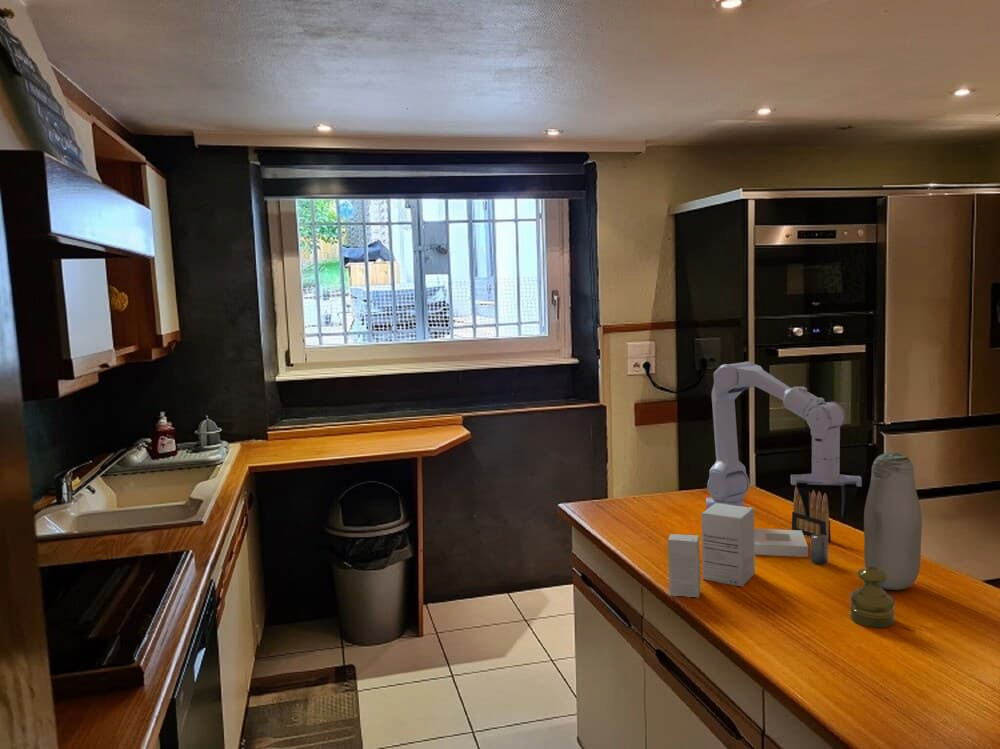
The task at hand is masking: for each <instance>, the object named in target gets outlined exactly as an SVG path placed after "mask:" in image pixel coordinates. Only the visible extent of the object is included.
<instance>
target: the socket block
mask: <svg viewBox="0 0 1000 749" xmlns="http://www.w3.org/2000/svg"><path fill="white" fill-rule="evenodd" d="M754 551H755V555H757V556H758V555H759V556H775V557H776V556H779V557H798V558H799V557H800V558H808V557H809V545H808V542H807V541H806V538H805V535H803V533H802V530H792V529H773V528H754Z"/></svg>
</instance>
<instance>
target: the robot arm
mask: <svg viewBox="0 0 1000 749" xmlns="http://www.w3.org/2000/svg"><path fill="white" fill-rule="evenodd" d="M751 387H756V388H758V389H759V390H762V391H764V392H765V393H768V394H769V395H771V396H773V397H775V398H778V399H779V400H781V401H782V405H783V407H784V408H785V409H787V410H788V411H790V412H792V413H793V414H795V415H796V416H798V417H800V418H802V419H803V420H804V421H806V424H807V426H809V429H810V436H811V473H805V474H804V473H803V474H790V484H791V486H795V488H796V487H797V489H798V491H799V496H801V499H802V502H803V505H804V510H805V516H806V517H809V515H810V512H809V492H810V491H811V490H810V488H809V485H811V486H812V485H816V486H817V485H818V486H840V489H841V508H840V509H841V510H840V514H841V517H842V518H843V519H846V518H847V515H848V511H849V508H850V505H851V503H852V501H853V499H854V497H855V496H856V494H857V491H858V488H857V487H862V486H863V484H862V483H863V482H862V480H863V478H862V477H861V475H849V474H848V475H847V474H840V470H841V468H840V462H841V461H840V454H841V450H840V449H841V448H840V446H841V444H840V443H841V442H840V441H841V427H842V425H844V422H845V420H846V413H845V410H844V408H843V407H842V406H841V405H840V404H838V402H836V401H828V402H826V401H825V398H823V397H817V395H815V394H812V393H811V392H809V391H808V388H807V387H806V386H793V387H791V386H788V385H787V384H785V383H784V382H782V381H781V380H779V379H777V378H776V376H773V375H772V374H770V373H769V372H767V371H766V370H764V369H763V367H762V366H761V365H758V364H757V363H756V364H755V362H752V361H748V360H747V361H744V362H735V363H730V364H729V363H728V364H727V363H725V364H721V365H719V367H718V368H717V369H715V371H714V372H713V387H712V390H711V404H712V406H711V407H712V420H713V432H714V433H713V434H714V447H715V463H714V464H713V465H712V466H711V467H710V469H709V471H708V473H709V474H708V475H709V477H708V480H707V486H706V488H707V491H708V493H709V495H710V497H705V500H706V501H705V502H706V504H705V505H706V508H705V509H706V510H707V509H708V508H710V507H711V506H712V505H714V504H715V503H721V504H728V505H734V506H742V507H744V498H745V497H746V493H748V491H749V490H750V486H751V485H750V484H751V483H750V478H749V477H748V474H747V469H746V466H745V465H744V464H743V463H742V462H741V461H740V460H739V459H740V458H739V448H738V447H739V446H738V433H737V432H738V431H737V417H736V404H735V400H736V399H737V397H738V396H740V394H742V393H743V391H745V390H747V389H749V388H751ZM810 493H811V492H810ZM706 510H705V511H706Z"/></svg>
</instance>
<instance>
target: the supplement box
mask: <svg viewBox="0 0 1000 749" xmlns="http://www.w3.org/2000/svg"><path fill="white" fill-rule="evenodd" d="M754 514H755V508H754V507H753V506H752V507H750V506H749V507H748V506H743V507H742V506H734V505H728V504H721V503H715V504H714V505H712V506H711V507H710V508H708V509H707V510H704V511H703V512H702V513H701V514H700V515H701V553H702V555H701V556H702V557H701V559H702V561H701V562H702V566H701V567H702V580H703V579H705V580H704V581H709V580H710V581H709V582H714V581H715V582H716V583H720V584H727V585H730V586H732V585H733V586H737V587H744V585H745V584H746V583H748V581H749V580H750V579H751V578H752V577H753V576H754V575H755V574H756V570H755V569H756V568H755V567H756V566H755V565H756V564H755V559H756V558H755V551H754V529H755V515H754Z"/></svg>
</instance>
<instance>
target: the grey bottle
mask: <svg viewBox="0 0 1000 749" xmlns="http://www.w3.org/2000/svg"><path fill="white" fill-rule="evenodd" d="M863 510H864V511H863V536H864V537H863V538H864V539H863V540H864V541H863V542H864V544H863V545H864V547H863V548H864V550H863V552H864V554H863V556H864V559H863V560H864V566H865V567H864V568H867V567H875V568H877V569H879V570H881V571H883V572H885V573H886V574H887V579H886V580H885V581H883V582H882V583H881V584H880V586H881V588H882V589H883V590H889V591H890V590H891V591H899V590H905V589H907V588H909V587H911V586H912V585H914V583H915V582H916V580H917V579H918V576H919V573H920V569H921V554H922V552H921V550H922V549H921V548H922V528H923V526H922V525H923V523H922V522H923V519H922V518H923V516H922V508H921V503H920V499H919V496H918V493H917V488H916V482H915V471H914V466H913V463H912V461H911V460H910V458H909V457H907V456H906V455H904V454H902V453H898V452H885V453H882V454H880V455H878V456H877V457H875V459H874V461H873V463H872V466H871V477H870V483H869V487H868V492H867V495H866V500H865V505H864V509H863Z"/></svg>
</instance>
